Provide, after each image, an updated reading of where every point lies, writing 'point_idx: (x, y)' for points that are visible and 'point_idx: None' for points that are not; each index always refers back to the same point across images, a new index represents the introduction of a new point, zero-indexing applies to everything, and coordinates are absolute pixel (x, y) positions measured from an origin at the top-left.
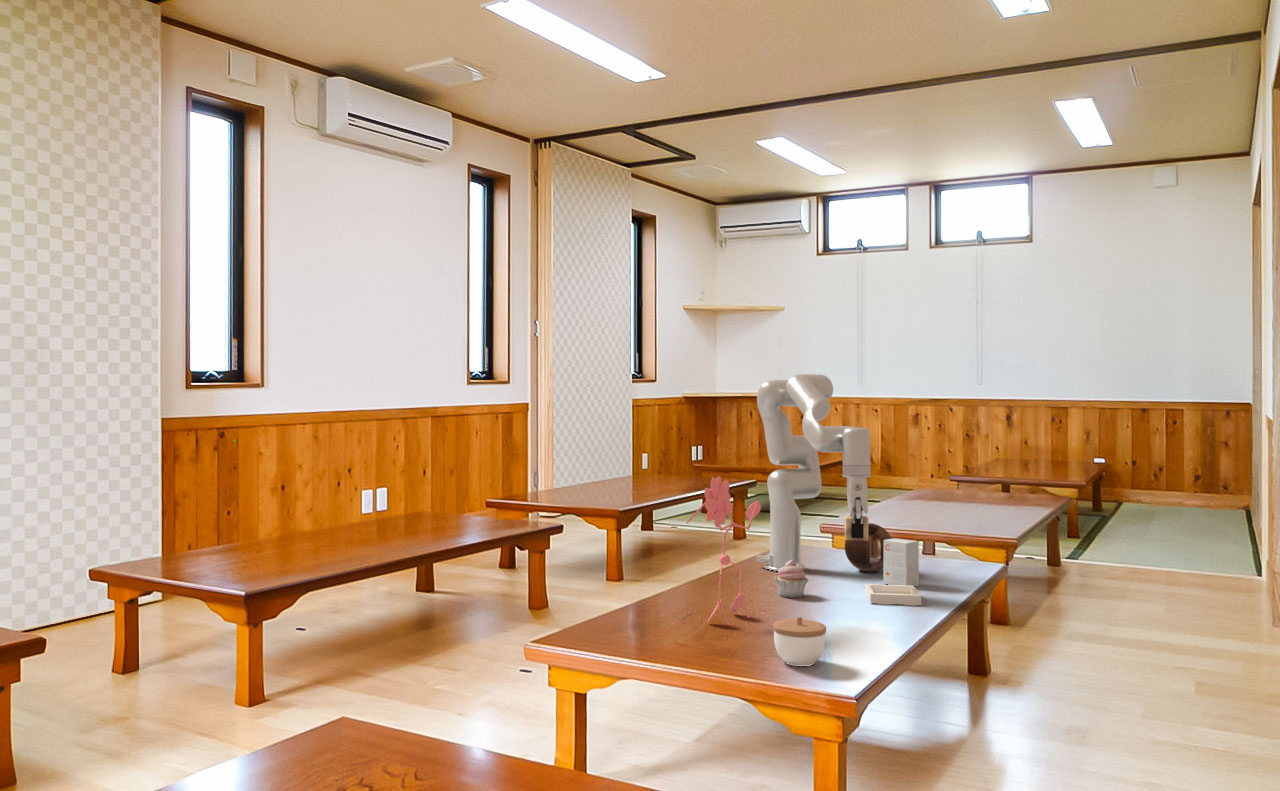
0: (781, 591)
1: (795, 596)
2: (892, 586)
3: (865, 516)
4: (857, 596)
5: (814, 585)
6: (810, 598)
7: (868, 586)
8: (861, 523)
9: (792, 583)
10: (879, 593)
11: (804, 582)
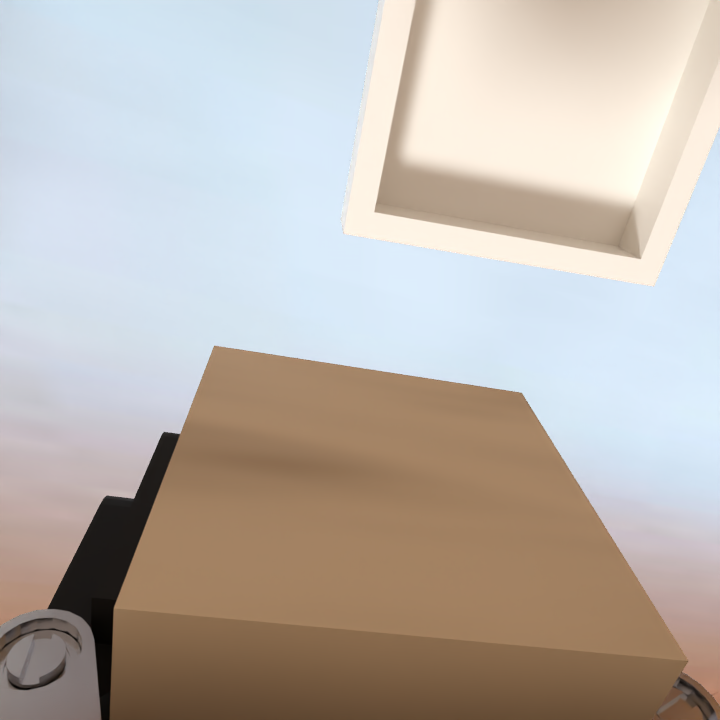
0: None
1: None
2: (409, 28)
3: (183, 635)
4: (423, 291)
5: (119, 460)
6: None
7: (428, 235)
8: (679, 693)
9: None
10: (414, 142)
11: None
